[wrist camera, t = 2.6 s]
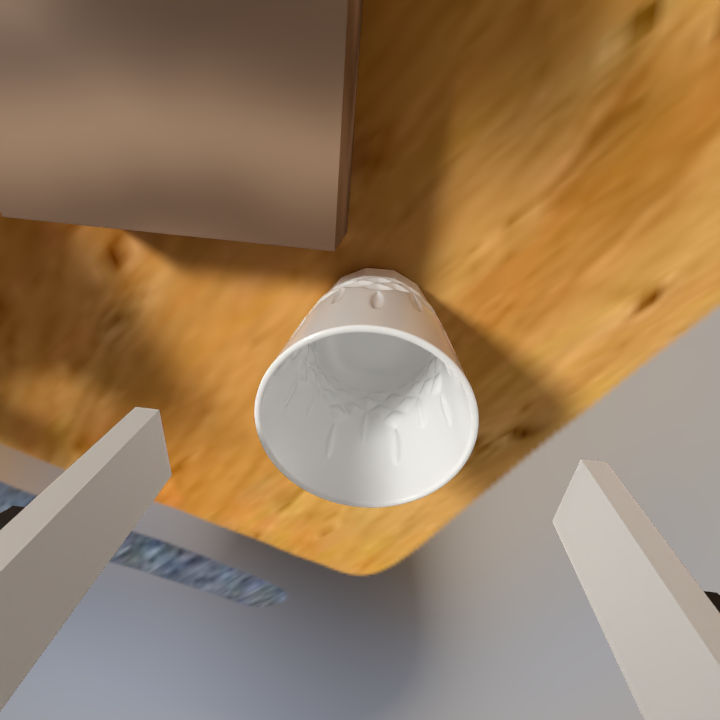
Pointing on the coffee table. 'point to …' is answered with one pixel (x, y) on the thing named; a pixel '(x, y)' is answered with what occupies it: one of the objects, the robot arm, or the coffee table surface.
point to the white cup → (368, 397)
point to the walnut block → (181, 116)
